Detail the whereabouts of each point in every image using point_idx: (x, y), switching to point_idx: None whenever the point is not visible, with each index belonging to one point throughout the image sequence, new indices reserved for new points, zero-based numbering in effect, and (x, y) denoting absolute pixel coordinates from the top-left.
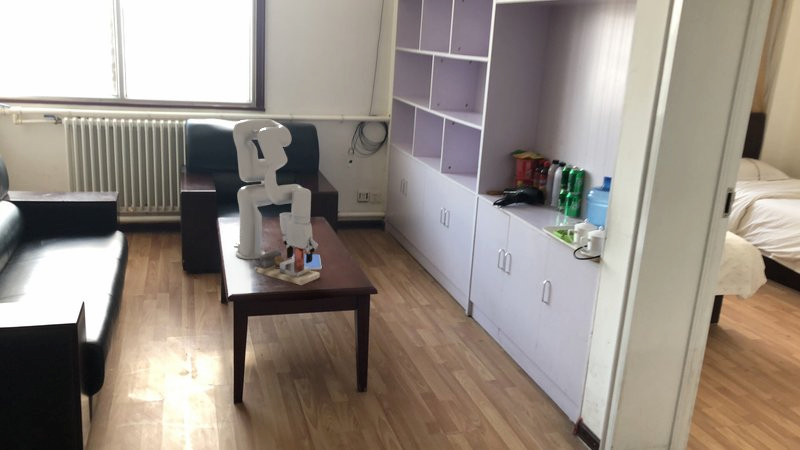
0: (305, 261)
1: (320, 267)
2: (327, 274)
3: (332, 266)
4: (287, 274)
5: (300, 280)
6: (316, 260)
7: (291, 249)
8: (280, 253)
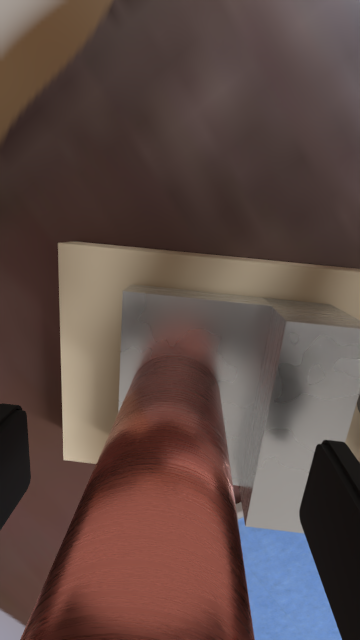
0: (293, 597)
1: None
2: (71, 498)
3: None
4: None
5: (71, 244)
6: None
7: (358, 612)
8: None
